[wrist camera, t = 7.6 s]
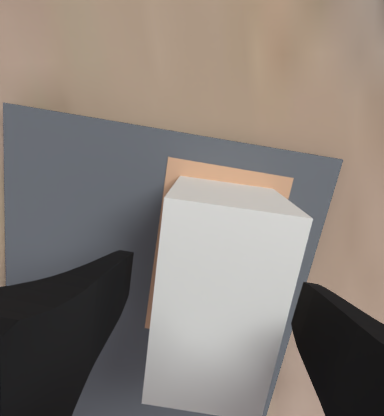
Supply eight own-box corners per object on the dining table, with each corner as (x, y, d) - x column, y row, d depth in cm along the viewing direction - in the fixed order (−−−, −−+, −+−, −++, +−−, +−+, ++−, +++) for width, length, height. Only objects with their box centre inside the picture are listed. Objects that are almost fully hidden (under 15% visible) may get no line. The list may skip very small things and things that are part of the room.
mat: (242, 479, 19) (243, 491, 18) (14, 437, 19) (7, 447, 18) (337, 158, 13) (343, 159, 12) (12, 104, 13) (2, 102, 13)
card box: (273, 188, 13) (313, 218, 8) (243, 330, 15) (260, 422, 10) (179, 175, 13) (164, 197, 8) (162, 318, 15) (141, 403, 10)
